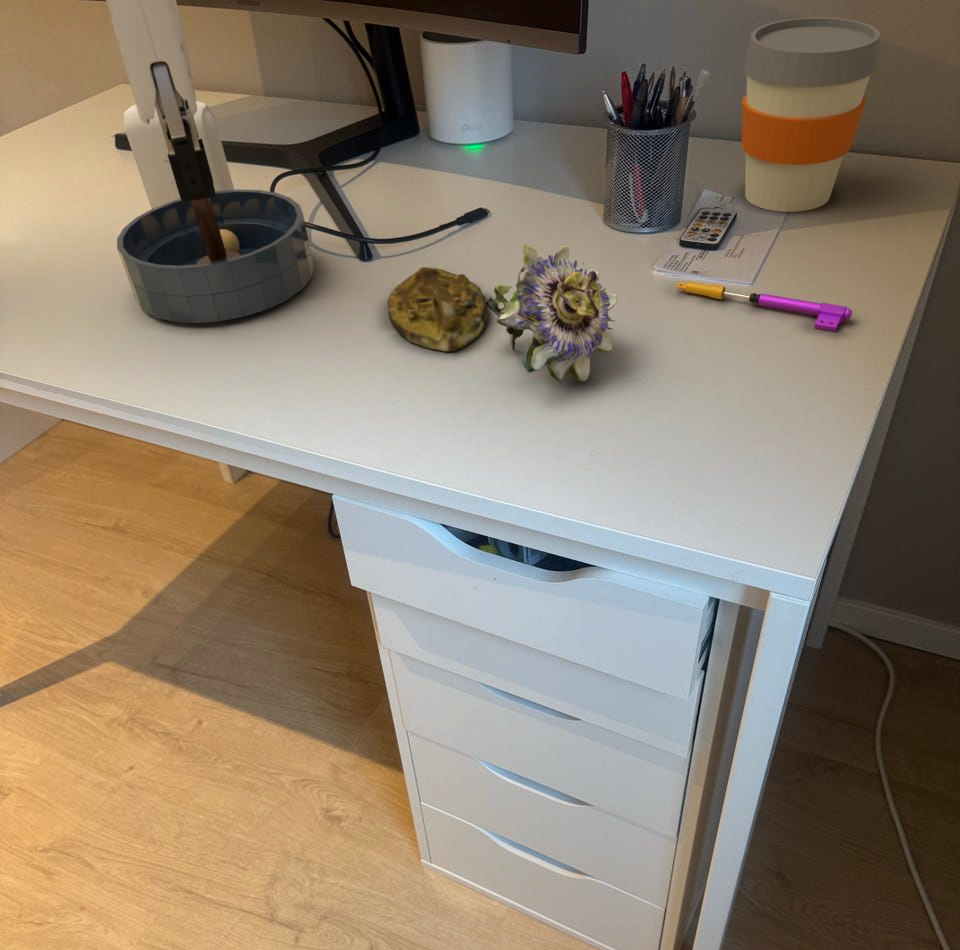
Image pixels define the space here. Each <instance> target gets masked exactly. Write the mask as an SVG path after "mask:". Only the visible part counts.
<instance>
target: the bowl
mask: <svg viewBox="0 0 960 950" xmlns="http://www.w3.org/2000/svg"><path fill="white" fill-rule="evenodd" d="M210 198H211V202H212V205H213V209H214V212H215V216H216V219H217V223H218V226H219V230H221V229H225V230H229V231H231V232H232V233H234V234H235V236H236V237H237V239H238V241H239V246H240V248H239V252H238V253H239V254H241V256H238V257H235V258H231V259H228V260H223V261H217V262H212V263H207V264H196V263H197V262H198V261H199V260H200V259H202V258H203V257H205V256H208V255H207V252H206V248H205V245H204V242H203V239H202V235H201V232H200V229H199V225H198V222H197V219H196V216H195V212H194V209H193V206H192V202H191V201H187V202H184V201H182V200H181V199H178V200H174V201H171V202H168V203H166V204H163V205H161V206H158V207H156V208H153V209H152V208H151V209H149V210H147V211H146V212H144V213H142V214H140V215H138V216H136V217H135V218H134V219H133V220H131V221H130V222H129V223H128V224H126V225H125V226H124V227H123V228H122V230H121V231H120V233H119V235H118V236H117V238H116V249H117V252H118V255H119V258H120V260H121V263H122V266H123V268H124V271H125V275H126V276H127V279H128V282H129V284H130V288H131V290H132V293H133V296H134V299H135V301H136V302H137V304H138V306H139V307H140V308H141V309H142V311H144V312H146V313H148V314H149V315H150V316H153V317H155V318H157V319H162V320H165V321H169V322H174V323H189V324H204V323H217V322H223V321H228V320H235V319H239V318H244V317H247V316H250V315H254V314H258V313H260V312H263V311H267V310H269V309H271V308H274V307H276V306H278V305H279V304H282V303H283V302H286V301H288V300H289V299H290V298H292V297H294V296H295V295H296V294H298V293H299V292H300V291H302V290H303V289H304V288H305V286H306V285H307V284H308V283H309V282H310V280H311V279H312V277H313V273H314V270H315V265H314V260H313V255H312V250H311V245H310V241H309V235H308V231H307V226H306V221H305V215H304V213H303V210H302V206H301V205H300V204H299V203H298V202H296V201H295V200H294V199H293V198H291V197H289V196H287V195H284V194H281V193H278V192H274V191H268V190H261V189H242V188H241V189H240V188H239V189H238V188H237V189H234V190H224V191H215V196H214V197H210Z"/></svg>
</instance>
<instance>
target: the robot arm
mask: <svg viewBox="0 0 960 950" xmlns="http://www.w3.org/2000/svg"><path fill="white" fill-rule="evenodd" d="M105 1H106V5H107V9H108V13H109V16H110V17H109V18H110V21H111V25H112V27H113V31H114V35H115V38H116V42H117V45H118V49H119V51H120V54H121V58H122V62H123V65H124V68H125V71H126V75H127V78H128V82H129V85H130V89H131V92H132V95H133V99H134V104H136V106H137V110H138V113H139V117H140V120H141V121H142V122H144V123H145V124H149V119H154V113H155V108H156V111H157V114H158V118H159V123H160V124H161V128H162V131H163V134H164V138H165V141H166V144H167V149H168V152H169V154H168V159H169V162H170V165H171V169H172V172H173V175H174V179H175V182H176V185H177V189H178V192H179V195H180V198H181V200H182V201H184V202H187V201H193V200H198V199H204V198H210V197H214V196H215V189H214V185H213V184H214V183H213V178H212V174H211V171H210V167H209V163H208V159H207V156H206V152H205V148H204V145H203V141H202V139H198V138H199V136H198V132H197V128H196V124H195V121H194V117H193V116H194V115H195V113H196V112H197V104H196V101H197V97H196V89H195V81H194V76H193V69H192V64H191V59H190V55H189V54H190V53H189V48H188V46H187V40H186V36H185V31H184V28H183V23H182V19H181V15H180V12H179V6H178V2H177V0H105Z"/></svg>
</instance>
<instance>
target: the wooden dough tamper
mask: <svg viewBox="0 0 960 950" xmlns="http://www.w3.org/2000/svg"><path fill="white" fill-rule="evenodd" d="M191 202H192V206H193V209H194V212H195V216H196V219H197V222H198V225H199V229H200V232H201V235H202V239H203V242H204V245H205V248H206V252H207V255H208V256H205V257H203V258H202V259H200V260H199V261H198V262H197V263H196V264H207V263H212V262H217V261H223V260H228V259H231V258H235V257H238V256H241V254H239V253H236V252H226V250H225V247H224V243H223V240H222V236H221V233H220V230H219V226H218V223H217V219H216V216H215V212H214V209H213V205H212V202H211V198H204V199H198V200H193V201H191Z"/></svg>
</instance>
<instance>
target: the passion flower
mask: <svg viewBox="0 0 960 950" xmlns="http://www.w3.org/2000/svg"><path fill="white" fill-rule="evenodd" d="M577 261H578V260H577V259H576V260H574V262H573V263H572V261H570V247H569V246H567V245H563V246H561V248H559V250H558V251H557V252H556V253H555V254H554V256H553V255H551V254H549V255H547V258H546V259H544V257H543V256H542V255H539V254H538V252H537V251H536V248H535V247H534V246H532V245H527V244H524V245H523V265H524V266H522V267H521V269H520V270H519V272H518V273H517V280H516V282H517V283H516V284H515V288H516V290H515V291H514V292H513V295H512V297H511V299H510V300H508V299H506V298H505V297H504V295H506V294H507V293H509V292H510V290H511V289H512V287H513V286H512V285H510V284H497V285H496V286H495V287H494V289H493V292H494V294H495V296H494V297H495V298H494V297H493V296H488V298H489V299H487V300H486V305H487V308H489V309H490V311H492V312H493V313H494V314H495V315H496V316H497V318H496V323H497V324H498V325H501V326H503V327H505V331H506V332H507V333H508V336H509V341H510V345H511V349H512V351H514V350H515V348H516V339H517V338H520V337H522V335H523V334H524V332H525V330H528V331H531V332H532V334H533V336H532V340H531V344H530V345H529V347H527V349H526V351H525V352H524V355H523V358H522V365H523V368H524V369H525V371H526V372H527V373H534V372H537V371H538V370H540V369H541V368H542V367H543V366H544V365H545V366H546V369H547V371H548V373H549V375H550V376H551V377H552V378H553V379H554V380H555V381H556V382H557V383H559V384H561V383H562V382H563V379H564V378H565V374H566V373H567V374H569V375H571V377H572V378H574V380H576V381H578V382H580V383H584V382H586V381H587V380H588V378H589V376H590V374H591V373H590V372H591V367H590V366H591V359H590V358H591V356H593V355H592V354H593V353H594V351H596V350H597V351H599V352H601V353H610V352H611V351H612V348H613V346H612V342H611V341H612V340H611V337H610V336H609V335H608V333H607V331H606V330H608V331H609V330H610V331H611V330H613V328H612V327H609V324H608V323H609V322H616V320H612V317H610V316H609V311H611V310H612V309H613V308H614V307H615V306H616V304H617V302H618V296H617V294H615V293H612V292H607V291H606V288H607V287H604V286H603V285H602V284H601V283H600V282H599V281H600V272H599V270H596V269H588V270H587V268H584V269H583V268H579V269H577V266H578V262H577ZM582 265H585V264H584V262H582ZM521 273H523V278H522V279H521ZM500 303H502V304H503V307H502V308H499V304H500Z"/></svg>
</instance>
